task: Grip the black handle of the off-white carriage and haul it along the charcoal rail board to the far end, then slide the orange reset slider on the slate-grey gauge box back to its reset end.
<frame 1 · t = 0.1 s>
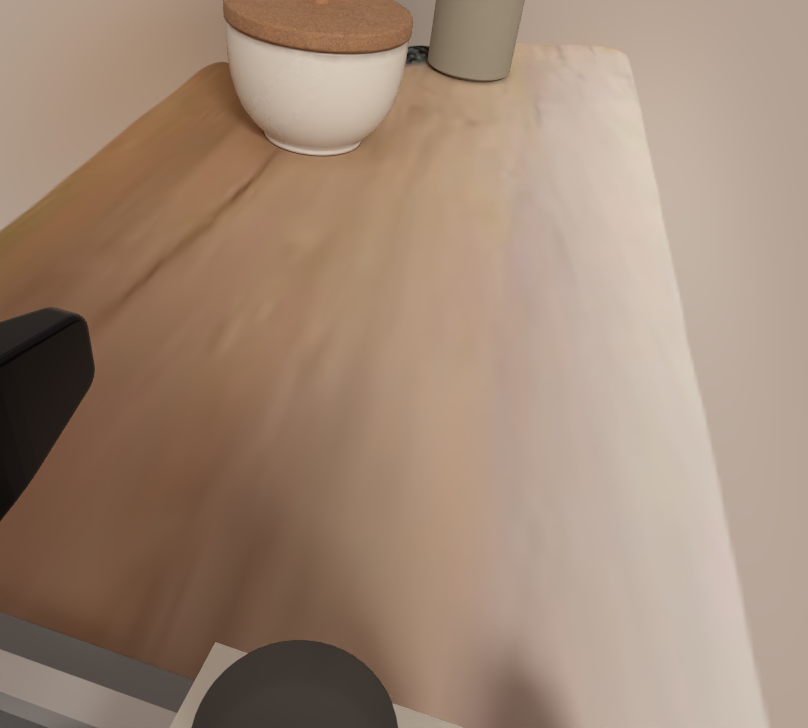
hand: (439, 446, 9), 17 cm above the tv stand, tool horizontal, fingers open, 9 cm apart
lidded bowl: (313, 138, 56), on the tv stand
travel mug: (467, 71, 72), on the tv stand
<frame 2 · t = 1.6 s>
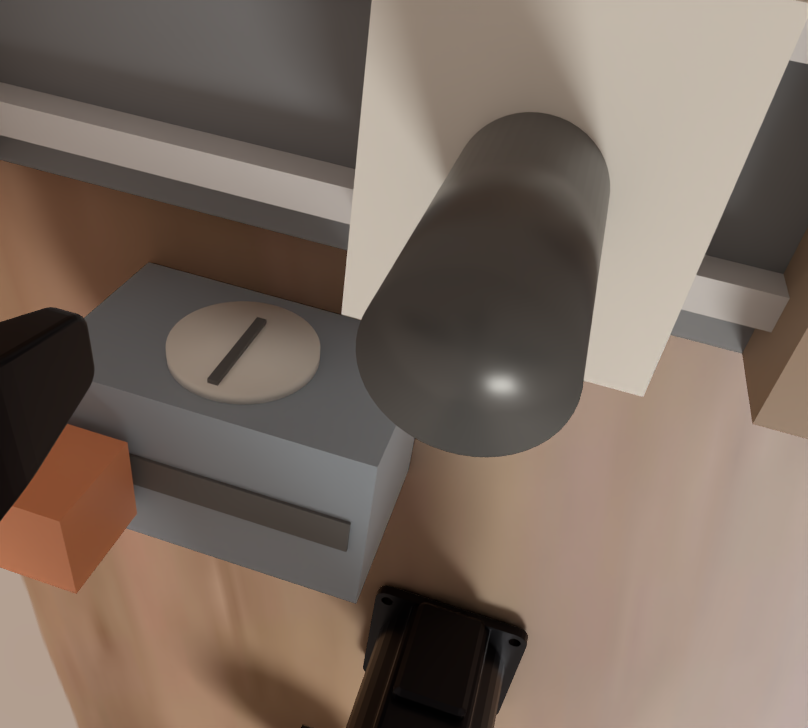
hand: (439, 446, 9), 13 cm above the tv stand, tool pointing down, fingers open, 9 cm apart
carriage: (517, 223, 13), point 7 cm above the tv stand, slide at -5.0 cm
gauge box: (284, 370, 26), on the tv stand
rail board: (370, 62, 19), on the tv stand
reset slider: (53, 501, 21), point 8 cm above the tv stand, slide at 3.5 cm
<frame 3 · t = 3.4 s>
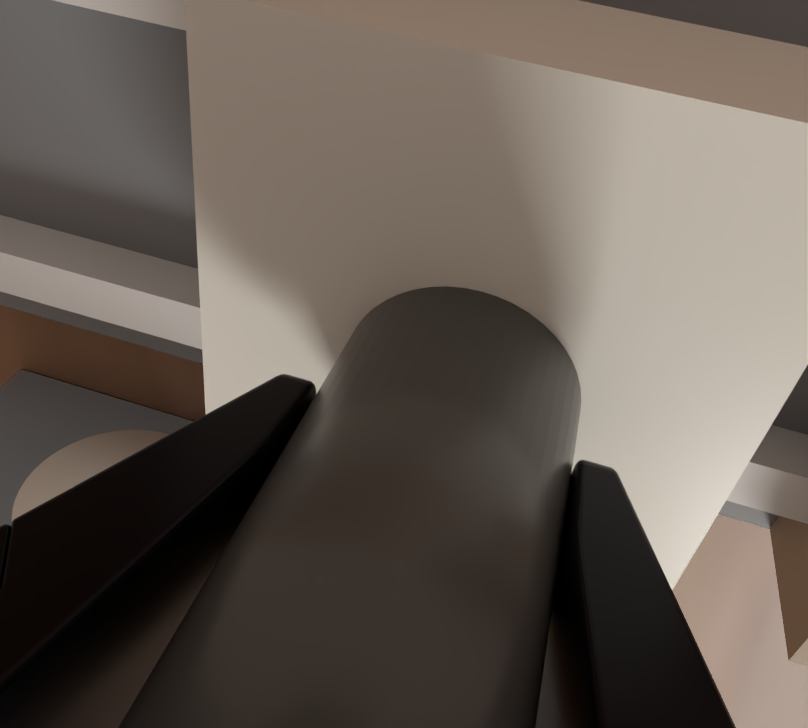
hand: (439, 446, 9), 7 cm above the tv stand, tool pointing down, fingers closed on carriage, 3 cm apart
carriage: (428, 474, 8), point 7 cm above the tv stand, slide at -5.0 cm, touching gripper
gauge box: (196, 496, 21), on the tv stand
rail board: (266, 145, 14), on the tv stand
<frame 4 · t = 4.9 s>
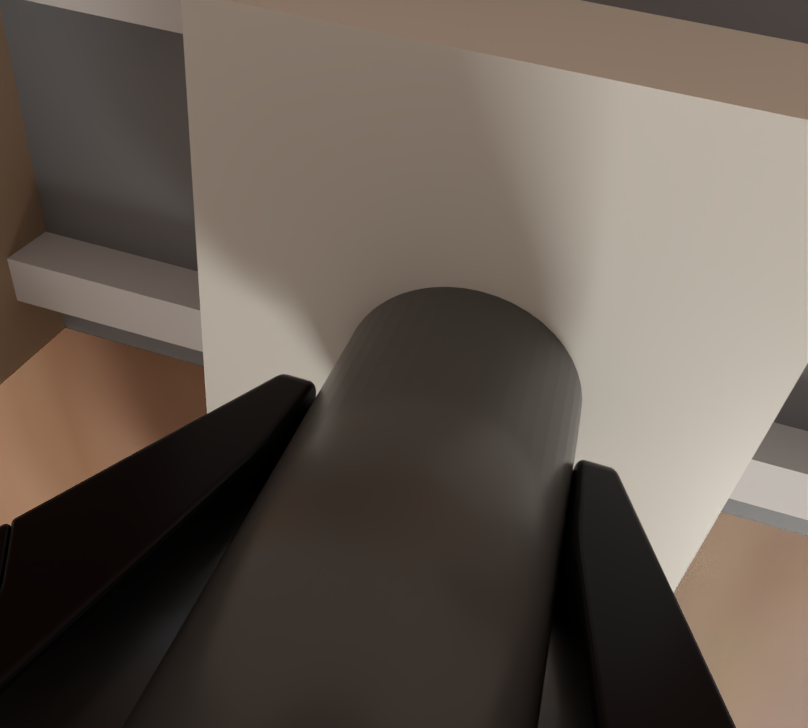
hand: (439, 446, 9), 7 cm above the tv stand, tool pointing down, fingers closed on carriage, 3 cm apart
carriage: (429, 475, 8), point 7 cm above the tv stand, slide at 1.9 cm, touching gripper
rail board: (626, 231, 13), on the tv stand
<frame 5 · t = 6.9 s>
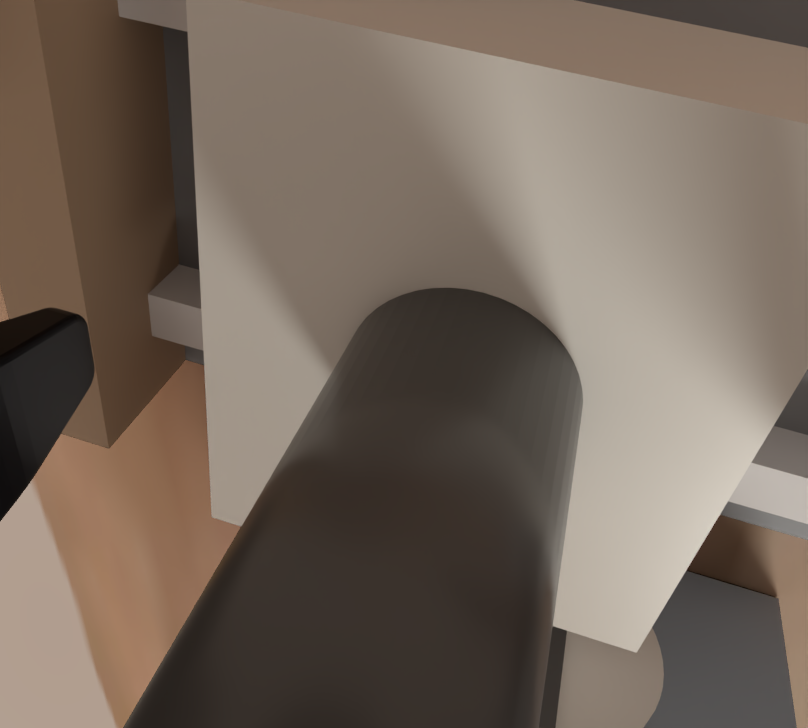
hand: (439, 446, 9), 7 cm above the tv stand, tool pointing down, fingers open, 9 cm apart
carriage: (430, 475, 8), point 7 cm above the tv stand, slide at 4.9 cm
gauge box: (538, 605, 20), on the tv stand
rail board: (804, 277, 13), on the tv stand
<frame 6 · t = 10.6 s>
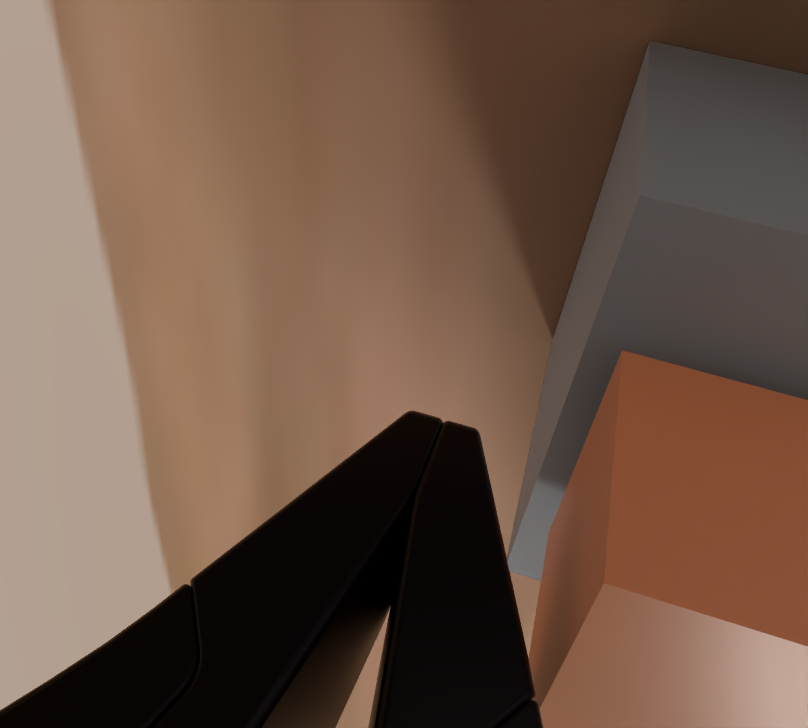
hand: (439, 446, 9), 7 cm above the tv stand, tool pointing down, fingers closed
reset slider: (718, 596, 7), point 8 cm above the tv stand, slide at 3.2 cm, touching gripper
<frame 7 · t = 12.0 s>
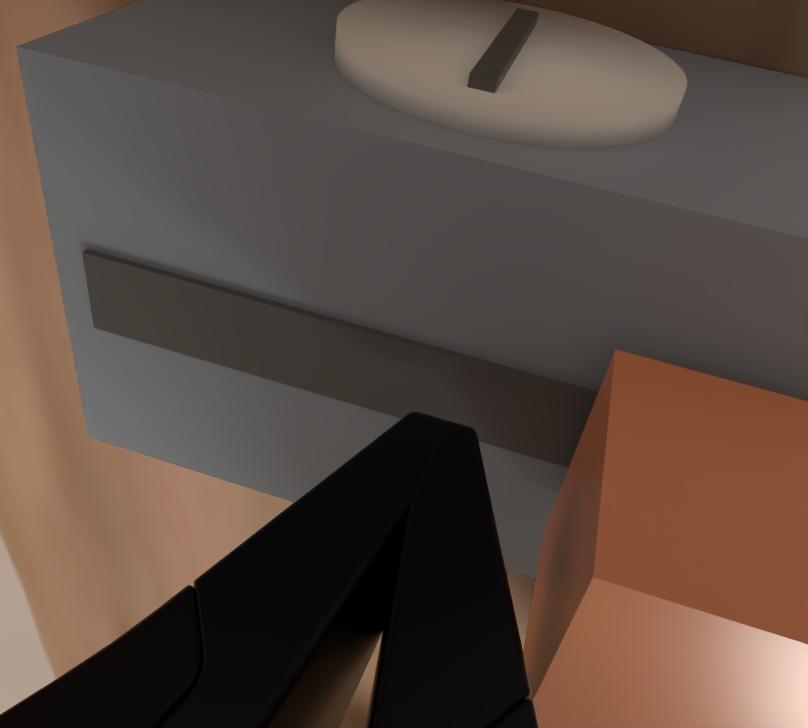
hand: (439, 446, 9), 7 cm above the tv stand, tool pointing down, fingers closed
gauge box: (499, 189, 14), on the tv stand
reset slider: (710, 593, 7), point 8 cm above the tv stand, slide at -3.6 cm, touching gripper
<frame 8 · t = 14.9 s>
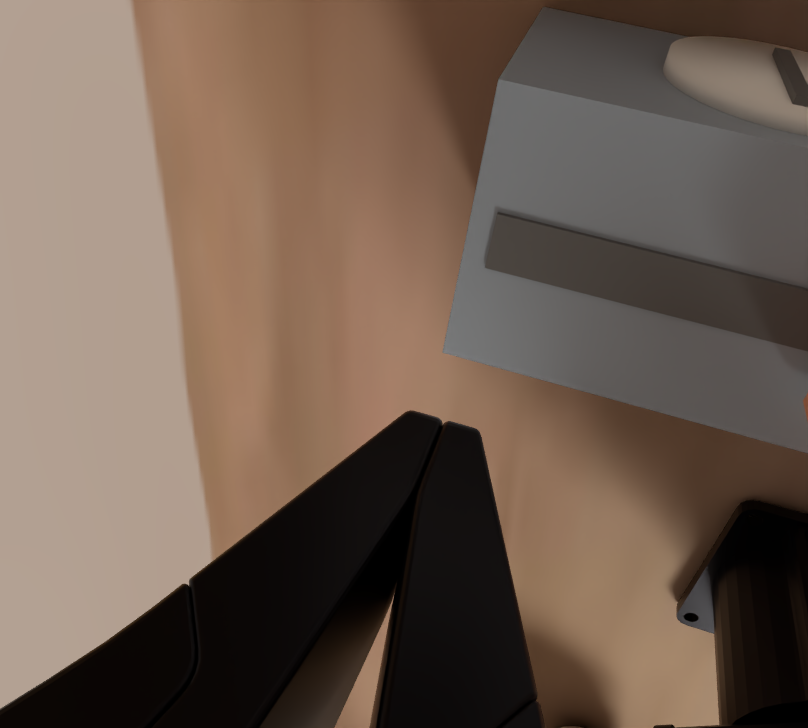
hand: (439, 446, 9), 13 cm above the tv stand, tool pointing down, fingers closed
gauge box: (710, 175, 19), on the tv stand
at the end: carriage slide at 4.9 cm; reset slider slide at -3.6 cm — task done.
